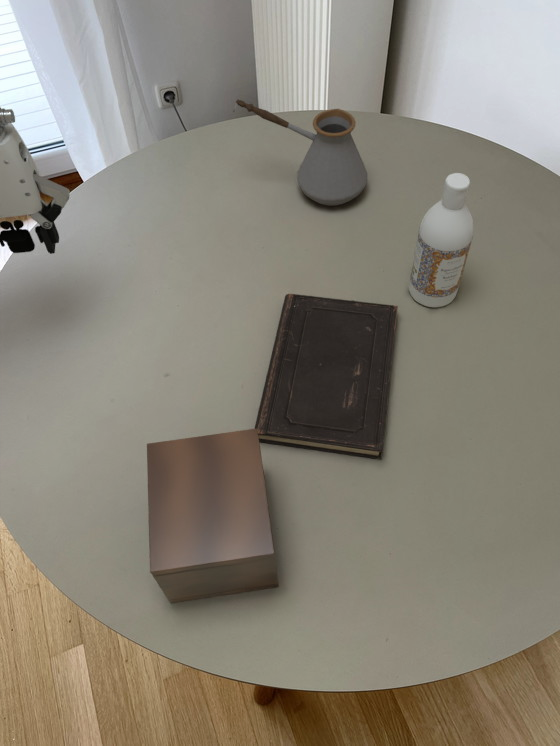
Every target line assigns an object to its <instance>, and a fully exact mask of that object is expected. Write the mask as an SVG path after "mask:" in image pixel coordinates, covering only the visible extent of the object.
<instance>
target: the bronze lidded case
mask: <svg viewBox="0 0 560 746" xmlns="http://www.w3.org/2000/svg"><path fill="white" fill-rule="evenodd" d="M260 443H261V442H259V436H258V429H257V428H256V429H254V428H250V429H242V430H235V431H229V432H228V431H227V432H221V433H213V434H207V435H201V436H199V435H198V436H192V437H185V438H177V439H171V440H164V441H157V442H150V443H146V463H147V468H146V469H147V501H148V502H147V504H148V505H147V506H148V538H149V539H148V541H149V572H150V575H152V577H153V579H154V580H155V582H156V584H157V585H158V586H159V588H160V589H161V591H162V593H163V594H164V595H165V598H166V599H167V600H168V602H169V603H170V604H173V603H181V602H187V601H195V600H200V599H201V600H202V599H206V598H207V599H208V598H214V597H221V596H227V595H234V594H241V593H247V592H253V591H254V592H255V591H260V590H266V589H274V588H279V577H278V570H277V568H278V567H277V562H276V553H275V546H274V539H273V531H272V525H271V524H272V523H271V517H270V509H269V502H268V494H267V487H266V481H265V472H264V465H263V459H262V458H263V457H262V453H261V452H262V451H261V444H260Z"/></svg>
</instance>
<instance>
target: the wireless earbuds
mask: <svg viewBox="0 0 560 746" xmlns="http://www.w3.org/2000/svg"><path fill="white" fill-rule="evenodd" d="M0 228H2V229H3V230H1V231H0V246H1V247H5V246H6V245H7V247H8V249H9V251H10V252H11V253H13V254H20V253H31V252H33V251H34V250H35V248H36V245H35V242H34V239H33V237H32V235H31V233H30V231H29V229H26V228H24V221H22V220H21V219H15V220H13V223H12V222H11V221H8V220H2V221H0ZM23 228H24V229H23ZM39 229H40V225H36V226H35V227H34V232H35V234H36V236H37V238H38V241H39V243H40V244H44V241H43V239H42V237H41V234H40V231H39ZM5 243H6V244H5Z"/></svg>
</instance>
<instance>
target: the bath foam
mask: <svg viewBox="0 0 560 746" xmlns="http://www.w3.org/2000/svg"><path fill="white" fill-rule="evenodd" d="M470 185H471V180H470V178H469V177H468V176H467V175H466V174H464V173H462V172H461V173H460V172H454V173H450V174H449V175H447V176H446V177H445V181H444V186H443V190H442V194H441V199H440V200H439V201H437V202H436V203H435V204H434V205H432V206H431V207H430V208H429V209H428V210H427V211H426V213H425V214H424V216H423V217H422V220H421V223H420V225H419V228H418V233H417V238H416V244H415V250H414V255H413V260H412V265H411V270H410V277H409V282H408V291H409V294H410V296H411V297H412V299H413V300H414V301H415V302H417V303H418V304H420V305H422V306H424V307H428V308H442V307H444V306H447V305H450V303H452V302H453V301H454V300H455V298H456V296H457V294H458V291H459V287H460V284H461V280H462V277H463V273H464V269H465V266H466V263H467V259H468V255H469V252H470V249H471V245H472V242H473V237H474V220H473V216H472V214H471V211H470V210H469V208H468V206H467V205H466V201H467V197H468V193H469V189H470Z"/></svg>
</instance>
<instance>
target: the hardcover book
mask: <svg viewBox="0 0 560 746" xmlns="http://www.w3.org/2000/svg"><path fill="white" fill-rule="evenodd" d="M398 307H399V305H393V304H384V303H375V302H366V301H358V300H349V299H341V298H340V299H339V298H332V297H324V296H323V297H322V296H315V295H305V294H297V293H287V294H285V296H284V300H283V304H282V308H281V312H280V316H279V321H278V325H277V328H276V329H277V330H276V333H275V338H274V343H273V346H272V351H271V356H270V360H269V364H268V368H267V373H266V377H265V381H264V386H263V390H262V394H261V398H260V403H259V407H258V412H257V416H256V419H255V420H256V421H255V425H254V428H253V429H256V428H257V429H258V436H259V443H263V444H272V445H279V446H286V447H291V448H292V447H293V448H299V449H307V450H313V451H320V452H326V453H333V454H341V455H347V456H355V457H361V458H367V459H368V458H369V459H375V460H382V454H383V451H384V443H385V431H386V424H387V413H388V404H389V396H390V395H389V394H390V385H391V384H390V383H391V374H392V366H393V357H394V356H393V355H394V346H395V336H396V326H397V318H398V317H397V315H398Z"/></svg>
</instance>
